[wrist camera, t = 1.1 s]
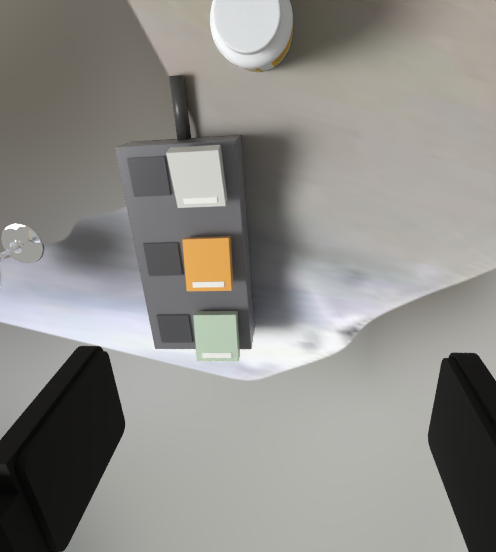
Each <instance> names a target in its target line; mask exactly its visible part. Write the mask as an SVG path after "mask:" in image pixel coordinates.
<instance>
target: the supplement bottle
mask: <svg viewBox="0 0 496 552" xmlns="http://www.w3.org/2000/svg"><path fill="white" fill-rule="evenodd" d="M210 26H211V33H212V36H213V39H214V42H215V44H216V46H217V48H218V49H219V51H220V52H221V53H222V54H223V56H224V57H225V58H226V59H227V60H228V61H230V62H231V63H233V64H234V65H236V66H239V67H241V68H244V69H246V70H249V71H253V72H263V71H267V70H270V69H272V68H274V67H275V66H277V65H278V64H279V63H280V62H281V61H282V60H283V59H284V57H285V56H286V54H287V53H288V51H289V48H290V45H291V42H292V37H293V12H292V7H291V3H290V0H213V3H212V7H211V12H210Z"/></svg>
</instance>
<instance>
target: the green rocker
mask: <svg viewBox="0 0 496 552" xmlns="http://www.w3.org/2000/svg"><path fill="white" fill-rule="evenodd" d="M193 318H194V330H195V343H196V355H197V361H238V360H239V357H240V349H239V330H238V312H237V311H196V312H195V314H194V315H193Z"/></svg>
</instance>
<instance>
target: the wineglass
mask: <svg viewBox="0 0 496 552" xmlns="http://www.w3.org/2000/svg"><path fill="white" fill-rule="evenodd" d="M2 244H3V246H4V248H5V250H6V251H4V252H2V253H0V261H1V260H2V259H3V258H4V257H5V256H7V255H10V256H11V257H12V258H14V259H15V260H17V261H19V262H22V263H33V262H36V261H37V260H39V259H40V257H41V256H42V253H43V244H42V241H41V239H40V237H39V236H38V235H37V234H36V232H35V231H34V230H32V229H31V228H30V227H28V226H26V225H23V224H11V225H9V226H7V227H6V228H5V229H4V231H3V233H2ZM2 281H3V275H2V270H1V267H0V289H1V286H2Z"/></svg>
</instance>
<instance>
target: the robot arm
mask: <svg viewBox="0 0 496 552" xmlns="http://www.w3.org/2000/svg"><path fill="white" fill-rule="evenodd" d="M124 429H125V419H124V415H123V411H122V407H121V403H120V399H119V395H118V391H117V387H116V383H115V379H114V375H113V371H112V367H111V363H110V359H109V355H108V353H107V352H105V351H103V349H102V348H101V347H99V346H80V347H78V348H77V349H76V350H75V351H74V352H73V354H72V355H71V356H70V357H69V358H68V360H67V361H66V362H65V363H64V364H63V366H62V367H61V368H60V369H59V371H58V372H57V373H56V374H55V375H54V376H53V378H52V379H51V380H50V381H49V382H48V384H47V385H46V386H45V387H44V388H43V389H42V391H41V392H40V393H39V394H38V396H37V397H36V398H35V399H34V400H33V402H32V403H31V404H30V405H29V406H28V408H27V409H26V410H25V411H24V412H23V413H22V415H21V416H20V417H19V418H18V419H17V421H16V422H15V423H14V424H13V425H12V427H11V428H10V429H9V430H8V431H7V433H6V434H5V435H4V436H3V437H2V439H1V440H0V552H62V551H64V550H65V549H66V547H67V546H68V544H69V542H70V540H71V538H72V536H73V534H74V532H75V530H76V528H77V526H78V524H79V522H80V520H81V518H82V516H83V514H84V512H85V510H86V508H87V506H88V504H89V502H90V500H91V498H92V495H93V493H94V491H95V489H96V488H97V486H98V484H99V482H100V479H101V477H102V475H103V473H104V471H105V469H106V467H107V465H108V463H109V461H110V459H111V457H112V455H113V453H114V451H115V449H116V447H117V445H118V443H119V441H120V439H121V437H122V435H123V433H124ZM428 442H429V446H430V450H431V452H432V455H433V458H434V460H435V463H436V466H437V468H438V471H439V474H440V476H441V479H442V481H443V484H444V487H445V489H446V492H447V495H448V498H449V500H450V503H451V506H452V508H453V511H454V514H455V516H456V519H457V522H458V524H459V527H460V530H461V532H462V535H463V538H464V540H465V543H466V545H467V548H468V551H469V552H496V381H495V379H494V378H493V376H492V375H491V373H490V372H489V370H488V369H487V368H486V366H485V365H484V363H483V362H482V360H481V359H480V357H479V356H478V355H477V354H475V353H451V354H450V355H449V358H444V359H443V360H442V363H441V368H440V373H439V379H438V384H437V389H436V394H435V400H434V406H433V410H432V416H431V421H430V426H429V432H428Z"/></svg>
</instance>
